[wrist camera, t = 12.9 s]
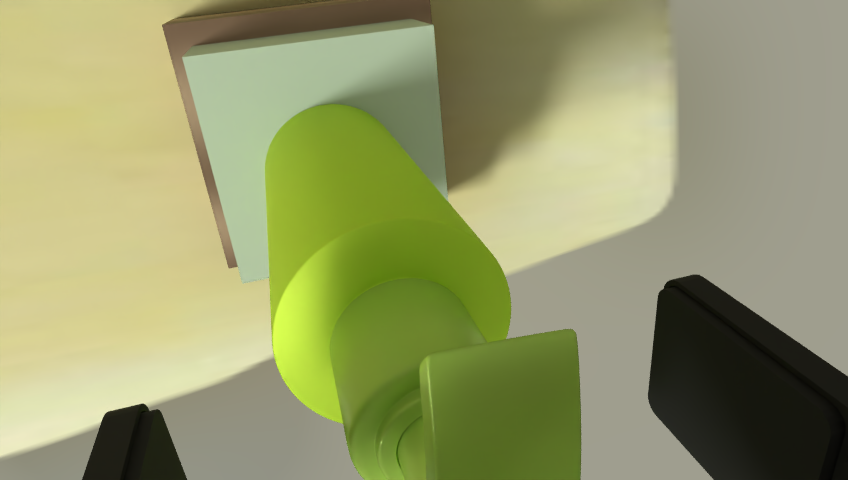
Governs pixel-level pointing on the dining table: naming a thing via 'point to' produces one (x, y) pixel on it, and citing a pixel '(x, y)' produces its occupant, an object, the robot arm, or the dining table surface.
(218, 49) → the pale green square tile
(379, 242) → the soap dispenser
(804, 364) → the robot arm
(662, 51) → the dining table surface
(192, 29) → the riser base
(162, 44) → the dining table surface
